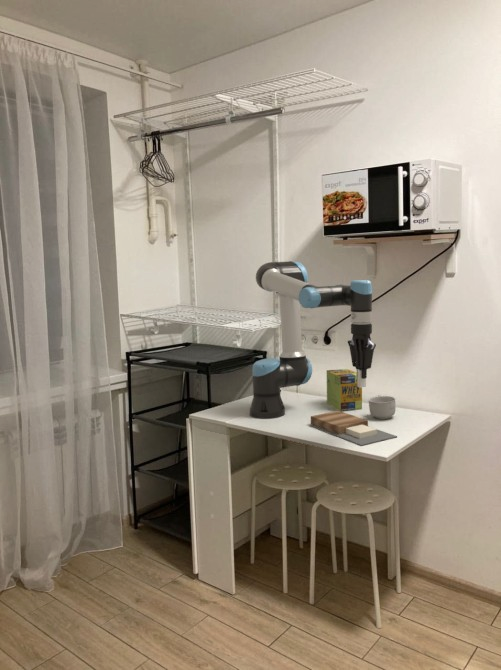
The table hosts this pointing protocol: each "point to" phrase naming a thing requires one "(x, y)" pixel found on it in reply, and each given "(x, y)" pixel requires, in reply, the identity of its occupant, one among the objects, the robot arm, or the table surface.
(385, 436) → the mat
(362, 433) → the coaster
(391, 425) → the table surface
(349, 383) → the protein box
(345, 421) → the stand
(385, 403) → the teacup
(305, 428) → the table surface
